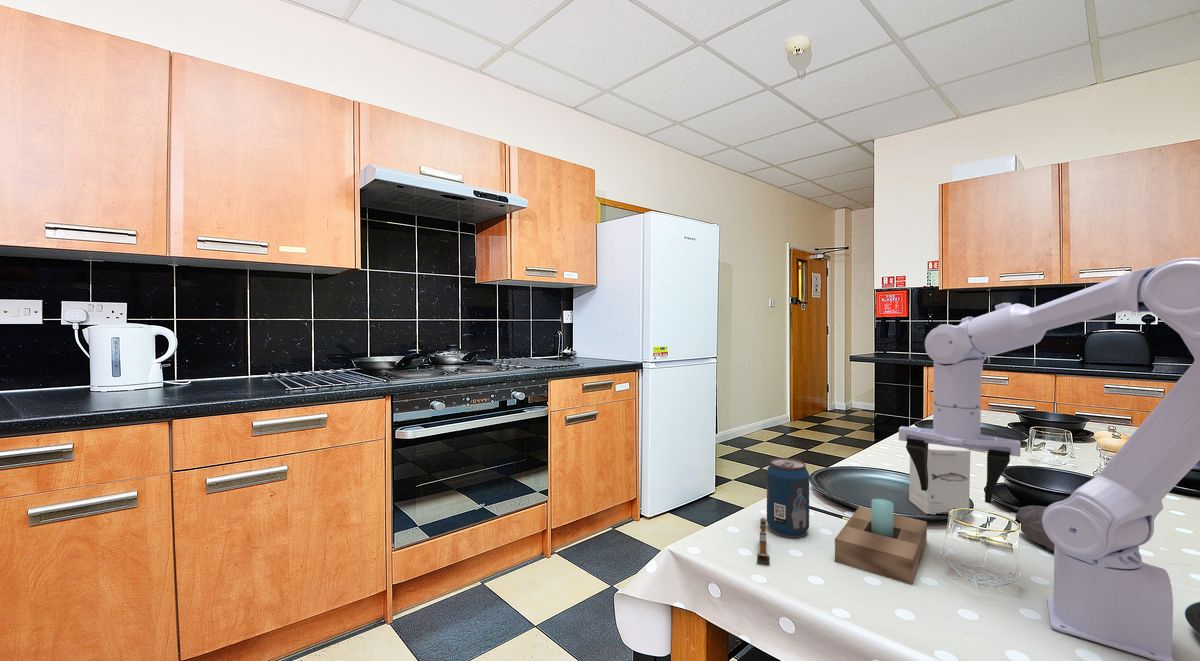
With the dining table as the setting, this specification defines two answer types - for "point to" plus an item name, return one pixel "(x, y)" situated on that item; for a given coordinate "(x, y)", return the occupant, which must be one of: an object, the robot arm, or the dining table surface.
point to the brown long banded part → (763, 543)
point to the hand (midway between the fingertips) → (955, 494)
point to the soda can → (788, 497)
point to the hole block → (882, 546)
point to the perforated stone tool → (1034, 525)
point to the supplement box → (942, 480)
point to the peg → (882, 517)
